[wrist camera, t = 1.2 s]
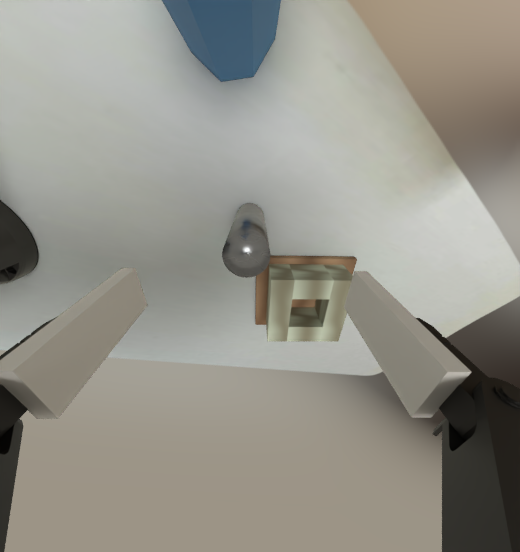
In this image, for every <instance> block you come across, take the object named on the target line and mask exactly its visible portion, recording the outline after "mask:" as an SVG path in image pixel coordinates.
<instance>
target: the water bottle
mask: <svg viewBox="0 0 520 552" xmlns="http://www.w3.org/2000/svg"><path fill="white" fill-rule="evenodd" d="M162 1H163V3H164V5H165V6H166V8H167V10H168V12H169V13H170V15H171V17H172V19H173V21H174V22H175V24H176V26H177V28H178V29H179V31H180V33H181V35H182V36H183V38H184V40H185V42H186V43H187V45H188V47H189V49H190V51H191V52H192V53H193V54H194V55H195V56H196V57H197V58H198V59H199V60H200V61H201V62H202V63H203V64H204V65H205V66H206V67H207V68H208V69H209V70H210V71H211V72H212V73H213V74H214V75H215V76H216V77H217V78H218V79H219V80H220V81H221V82H223V81H229V80H236V79H242V78H248V77H254V75H255V73H256V71H257V70H258V68H259V66H260V64H261V63H262V61H263V59H264V57H265V55H266V54H267V52H268V50H269V48H270V47H271V45H272V43H273V41H274V39H275V35H276V28H277V22H278V15H279V9H280V2H281V0H162Z"/></svg>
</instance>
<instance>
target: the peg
mask: <svg viewBox="0 0 520 552" xmlns="http://www.w3.org/2000/svg"><path fill="white" fill-rule="evenodd" d="M222 257H223V262H224V264H225V266H226V267H227V268H228V270H229V271H231V272H232V273H233V274H235V275H237V276H240V277H253V276H256V275H259V274H260V273H262V272H263V271H264V270H265V269H266V268H267V266H268V264H269V261H270V250H269V244H268V238H267V232H266V226H265V220H264V214H263V211H262V209H261V208H260V207H259V206H258V205H256V204H253V203H247V204H244V205H242V206H241V207H240V208H239V210H238V212H237V214H236V217H235V219H234V222H233V225H232V227H231V230H230V232H229V235H228V238H227V240H226V243H225V245H224V248H223V252H222Z"/></svg>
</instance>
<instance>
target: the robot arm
mask: <svg viewBox="0 0 520 552" xmlns="http://www.w3.org/2000/svg"><path fill="white" fill-rule="evenodd" d="M37 258H38V254H37V248H36V245H35V242H34V240H33V238H32V236H31V234H30V232H29V231H28V229H27V228H26V226H25V225H24V224H23V223H22V221H21V220H20V219H19V218H18V217H17V216H16V215H15V214H14V213H13V212H12V211H11V210H10V209H9V208H8V207H6V206H5V205H4V204H3V203H2V202H0V284H5V283H8V282H11V281H14V280H16V279H18V278H20V277H22V276H24V275H27V274H28V273H30V272H31V271H32V270H33V269H34V267H35V266H36V263H37ZM146 306H147V302H146V299H145V296H144V293H143V290H142V287H141V284H140V281H139V278H138V275H137V272H136V269H135V268H121V269H120V270H119V271H117V272H116V273H115V274H113V275H112V276H111V277H110V278H108V279H107V280H106V281H104V282H103V283H102V284H100V285H99V286H98V287H96V288H95V289H94V290H92V291H91V292H90V293H88V294H87V295H86V296H84V297H83V298H82V299H80V300H79V301H78V302H76V303H75V304H74V305H72V306H71V307H70V308H69V309H67V310H66V311H65V312H63V313H62V314H61V315H59V316H58V317H56V318H54V319H52V320H50V321H48V322H46V323H44V324H43V325H42V326H40V327H39V328H37V329H36V330H35V331H33V332H32V333H31V335H28V336H27V337H25V338H24V339H23V340H21V341H20V343H17V344H16V345H15V346H13V347H12V348H10V349H9V350H8V351H6V352H5V353H4V354H2V355H1V356H0V552H4V549H5V543H6V536H7V529H8V523H9V516H10V510H11V503H12V496H13V489H14V483H15V476H16V470H17V464H18V457H19V450H20V444H21V437H22V431H23V423H22V420H20V419H19V418H20V417H21V416H22V415H23V414H24V413H25V412H26V411H27V410H28V411H29V412H31V414H33V415H34V416H35V417H36V418H37V419H52V418H54V419H55V418H56V419H58V418H59V417H60V416H61V414H62V413H63V412H64V411H65V409H66V408H67V407H68V406H69V404H70V403H71V402H72V400H73V399H74V398H75V397H76V395H77V394H78V393H79V392H80V390H81V389H82V388H83V386H84V385H85V384H86V383H87V381H88V380H89V379H90V378H91V376H92V375H93V374H94V373H95V371H96V370H97V369H98V367H99V366H100V365H101V364H102V362H103V361H104V360H105V359H106V357H107V356H108V355H109V353H110V352H111V351H112V350H113V348H114V347H115V346H116V345H117V343H118V342H119V341H120V340H121V338H122V337H123V336H124V334H125V333H126V332H127V331H128V329H129V328H130V327H131V326H132V324H133V323H134V322H135V320H136V319H137V318H138V317H139V315H140V314H141V313H142V312H143V310H144V309H145V308H146ZM344 308H345V310H346V311H347V313H348V315H349V316H350V318H351V320H352V321H353V323H354V325H355V326H356V328H357V329H358V331H359V333H360V334H361V336H362V338H363V339H364V341H365V342H366V344H367V346H368V347H369V349H370V351H371V352H372V354H373V355H374V357H375V359H376V360H377V362H378V364H379V365H380V367H381V369H382V370H383V372H384V373H385V375H386V377H387V378H388V380H389V382H390V383H391V385H392V386H393V388H394V390H395V391H396V393H397V394H398V396H399V398H400V399H401V401H402V403H403V404H404V406H405V408H406V409H407V411H408V413H409V414H410V415H411V417H432V416H433V415H434V413H436V412H437V410H438V409H440V410H441V411H442V413H443V414H444V416H445V417H446V418H445V419H444V420H443V421H442V422H441V423H440V424H439V425H438V426H437V427H436V428H435V429H434V432H433V435H435V436H437V435H438V434H439V433H440V432H441V431H442V552H520V389H519V388H518V387H516V386H514V385H512V384H510V383H508V382H506V381H503V380H500V379H497V378H489V377H487V376H486V375H485V374H484V373H483V372H482V371H480V369H479V368H477V367H476V366H475V365H474V364H473V363H472V362H471V361H470V360H469V359H468V358H466V357H465V356H464V355H463V354H462V353H461V352H460V351H459V350H458V349H457V348H456V347H454V346H453V345H451V344H450V342H449V341H448V340H447V339H446V338H445V337H442V335H441V334H440V333H439V332H438V331H437V330H436V329H435V328H434V327H433V326H431V325H430V324H428V323H426V322H425V321H423V320H421V319H420V318H415V317H414V316H413V315H412V314H411V313H410V312H409V311H408V310H407V309H406V308H405V307H404V306H402V305H401V304H400V303H399V302H398V301H397V300H396V299H395V298H394V297H393V296H392V295H391V294H390V293H389V292H388V291H387V290H386V289H385V288H384V287H383V286H382V285H381V284H380V283H379V282H378V281H376V280H375V279H374V278H373V277H372V276H371V275H370V274H369V273H368V272H367V271H354V274H353V278H352V281H351V285H350V288H349V291H348V295H347V298H346V301H345V305H344Z"/></svg>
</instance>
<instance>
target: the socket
mask: <svg viewBox="0 0 520 552" xmlns="http://www.w3.org/2000/svg"><path fill="white" fill-rule="evenodd" d="M356 261H357V259H356V258H355V257H337V256H270V261H269V264H268V266H267V268H266V269H265V270H264V271H263V272H262V273H260V274H259V275H256V325H266V326H267V341H338V340H339V337H340V334H341V331H342V327H343V324H344V321H345V318H346V315H347V311H346V310H345V308H344V305H345V301H346V298H347V295H348V291H349V288H350V285H351V281H352V278H353V275H352V274H353V271H354V268H355V264H356Z"/></svg>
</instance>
